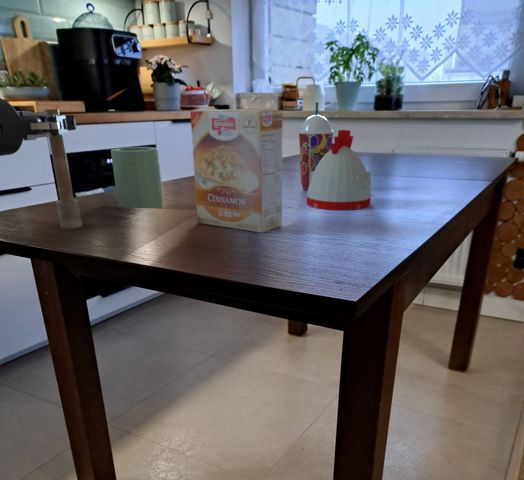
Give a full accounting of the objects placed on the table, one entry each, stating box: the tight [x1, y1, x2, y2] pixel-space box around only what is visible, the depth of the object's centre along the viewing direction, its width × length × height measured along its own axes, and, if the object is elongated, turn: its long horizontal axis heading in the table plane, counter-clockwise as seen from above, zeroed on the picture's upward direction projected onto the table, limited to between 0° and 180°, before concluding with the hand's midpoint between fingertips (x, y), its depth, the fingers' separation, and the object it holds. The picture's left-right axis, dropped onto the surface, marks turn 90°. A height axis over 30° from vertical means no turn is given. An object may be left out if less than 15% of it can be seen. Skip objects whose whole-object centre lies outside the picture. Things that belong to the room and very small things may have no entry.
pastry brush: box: [43, 108, 83, 230], centre depth 85 cm, size 4×4×20 cm
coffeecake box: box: [189, 109, 283, 234], centre depth 92 cm, size 15×7×20 cm, turn 56°
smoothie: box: [298, 102, 334, 192], centre depth 127 cm, size 8×8×20 cm
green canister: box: [110, 146, 164, 210], centre depth 109 cm, size 9×9×12 cm
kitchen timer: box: [306, 129, 372, 211], centre depth 111 cm, size 14×14×15 cm
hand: (66, 122), depth 84 cm, fingers closed on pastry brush, 2 cm apart
